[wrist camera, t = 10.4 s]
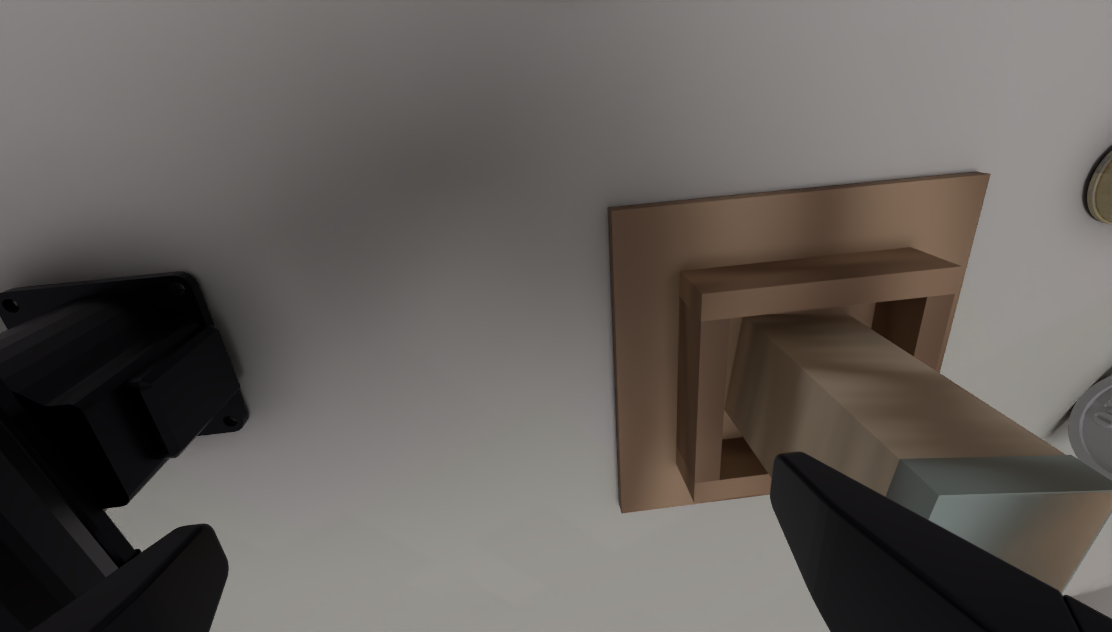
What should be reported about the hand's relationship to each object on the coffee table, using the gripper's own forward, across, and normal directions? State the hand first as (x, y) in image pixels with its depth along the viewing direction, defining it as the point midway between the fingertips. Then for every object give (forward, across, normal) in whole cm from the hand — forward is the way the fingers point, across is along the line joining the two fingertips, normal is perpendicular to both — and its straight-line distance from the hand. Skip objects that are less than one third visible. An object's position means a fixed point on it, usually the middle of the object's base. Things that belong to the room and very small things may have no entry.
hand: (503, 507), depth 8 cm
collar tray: (+12, -11, +5) cm, 17 cm away
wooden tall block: (+11, -11, +5) cm, 17 cm away
